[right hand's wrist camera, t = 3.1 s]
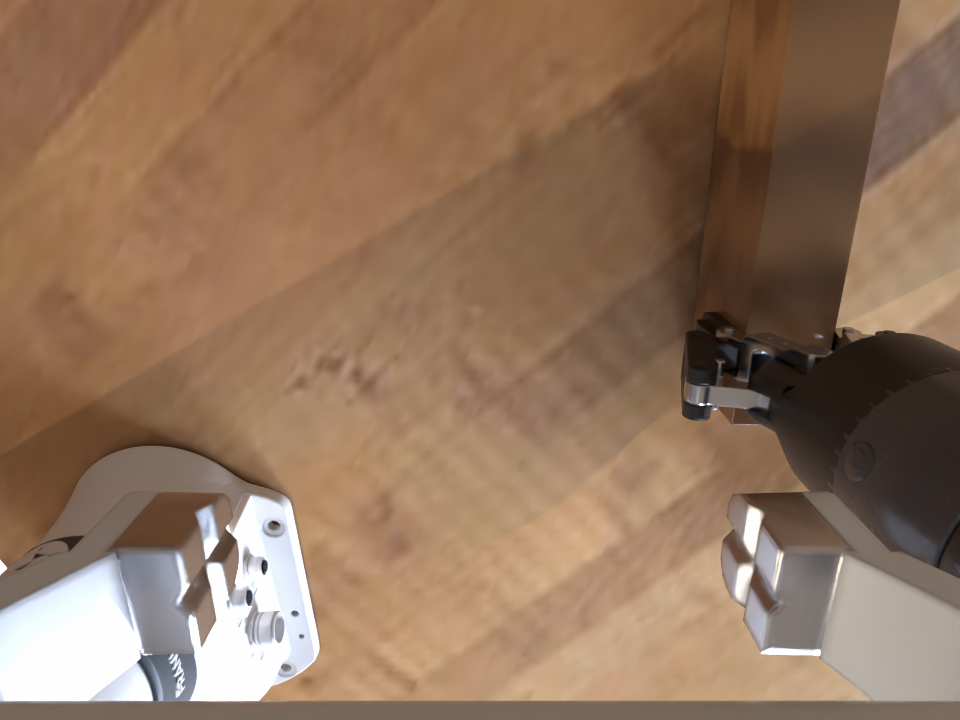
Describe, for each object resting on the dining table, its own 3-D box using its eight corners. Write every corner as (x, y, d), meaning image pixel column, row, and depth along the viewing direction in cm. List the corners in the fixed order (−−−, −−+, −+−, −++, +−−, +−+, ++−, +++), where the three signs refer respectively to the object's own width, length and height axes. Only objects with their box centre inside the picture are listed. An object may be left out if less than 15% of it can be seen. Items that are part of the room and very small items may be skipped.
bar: (747, -140, 32) (827, -222, 25) (837, -140, 32) (945, -223, 25) (686, 371, 42) (731, 425, 34) (756, 371, 42) (816, 425, 34)
